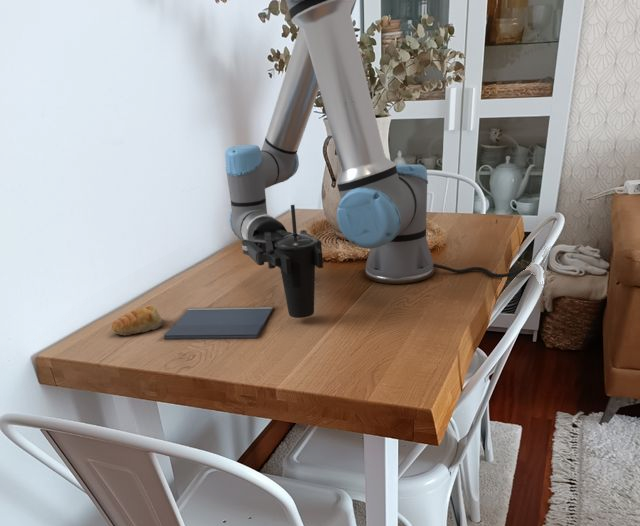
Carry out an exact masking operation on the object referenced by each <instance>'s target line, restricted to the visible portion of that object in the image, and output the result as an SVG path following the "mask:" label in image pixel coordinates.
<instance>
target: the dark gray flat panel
mask: <svg viewBox="0 0 640 526" xmlns="http://www.w3.org/2000/svg"><path fill="white" fill-rule="evenodd" d="M273 310H274V306H250V307H249V306H247V307H246V306H245V307H244V306H242V307H241V306H240V307H193V308H192V307H191V308H187V309H186V311H185V312H184V313H183V315H182V316H181V317H180V318H179V319H178V321H176V323H174V325H172V326H171V327H170V328H169V329H168V330H167V332H166V333H164V335H163V339H164V340H209V339H210V340H211V339H212V340H213V339H214V340H215V339H216V340H217V339H218V340H219V339H220V340H221V339H226V340H227V339H258V337H259V335H260V334H261V332H262V330H263V329H264V327H265V324H266V323H267V321H268V319H269V317H270V316H271V314H272V312H273Z"/></svg>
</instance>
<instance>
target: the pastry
mask: <svg viewBox="0 0 640 526" xmlns="http://www.w3.org/2000/svg"><path fill="white" fill-rule="evenodd" d="M162 324H163V320H162V318H161V316H160V314H159V313H158V311H157V309H156V307H154V305H152V304H151V305H145V307H139V308H135V309H131V310H130V311H128V312H126V314H124V315H123V316H120V317H119V318H118V319H116V320H114V321H113V322H112V324H111V332H112V333H114V334H116V335H120V336H130V335H137V334H140V333H146V332H149V331H151V330H157V329H159V328H160V327H162Z"/></svg>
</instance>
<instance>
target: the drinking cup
mask: <svg viewBox="0 0 640 526" xmlns="http://www.w3.org/2000/svg"><path fill="white" fill-rule="evenodd" d="M290 210H291V211H290V213H291V214H290V215H291V225H292V233H293V234H291V235H287V236H285V237H283V238H281V239H280V240H278V241H276V242H275V247H276V248H277V251H279V252H281V253H284V254H285V255H286V256H288V257H289V258H290V263H291V274H286V273H285V272H284V271H283V270H281V269H280V275H281V279H282V284H283V290H284V295H285V300H286V305H287V311H288V315H289V316H290V317H292V318H296V319H305V318H309V317H311V316H312V315H314V313H315V287H316V285H315V283H316V266H315V265H314V264H313V249H314V248H315V245H316V244H317V240H316V239H315V238H316V237H315V238H313V237H314V236H313V237H310V236H307V235H304V234H298V231H297V230H298V229H297V220H296V219H297V218H296V207H295V204H290Z"/></svg>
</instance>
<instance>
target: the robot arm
mask: <svg viewBox="0 0 640 526" xmlns="http://www.w3.org/2000/svg"><path fill="white" fill-rule="evenodd" d="M356 3H357V0H285V4H286V7H287V10H288V15H289V17H290V21H291V23H292V24H293V25H295V26H296V27H298V28H299V29H298V32H297V35H296V38H295V41H294V45H293V47H292V51H291V53H290V54H291V55H290V58H289V59H288V60H289V61H288V64H287V66H286V71H285V74H284V76H283V79H282V83H281V87H280V90H279V92H278V95H277V99H276V102H275V105H274V109H273V113H272V115H271V118H270V122H269V124H268V128H267V131H266V136H265V138H264V141H263V143H262V147H260V146H258V145H257V144H242V145H235V146H230V147H228V148H227V149H226V150H225V153H224V156H225V157H224V159H225V173H226V177H227V186H228V191H229V198H230V208H231V209H230V213H229V217H228V225H229V227H230V229H231V231H232V232H233V234H234V235H235V236H236V237H237V238H238V239H239V240H240V241H241V248H242V255H245V256H249V257H250V259H251V260H253V262H254V263H255V264H256V265H257V266H264V265H265V263H267V266H268V269H271V270H272V269H275V268H276V267H277V268H279V270H280V271H281V270H283V271H284V272H285V273H286V274H291V263H290V258H289V257H288V256H286V255H285V254H284V253H281V252H279V251H277V248H276V247H275V242H276V241H278V240H280V239H281V238H283V237H285V236H287V235H291V234H293V232H292V231H288V230H287V228H286V227H285V225H284V224H283V223H282V222H281V221H279V220H278V219H276V218H275V217H273V216H272V215H271V214H268V209H267V208H268V207H267V198H266V189H268V188H270V187H272V186H275V185H278V184H281V183H284V182H286V181H288V180H290V179H291V178H292V177H293V176H294V175H296V173H297V172H298V170H299V166H300V162H299V155H298V150H299V147H300V146H301V145H300V144H301V142H302V139H303V136H304V133H305V131H306V128H307V125H308V122H309V120H310V117H311V114H312V111H313V108H314V105H315V102H316V100H317V96H318V94H319V93H320V97H321V101H322V104H323V107H324V108H323V109H324V111H325V115H326V119H327V122H328V126H329V130H330V134H331V137H332V141H333V144H334V145H333V146H334V148H335V152H336V155H337V160H338V164H339V166H340V171H341V172H340V174H339V177H338V179H337V180H336V186H337V189H338V193H339V197H340V200H339V205H338V207H337V211H336V220H337V224H338V228H339V231H340V232H341V234H342V235H343V236H344V237H345V238H346V240H348V241H349V242H350V243H352V244H353V245H354V246H356V247H359V248H362V249H367V250H368V249H369V253H368V256H367V260H366V262H365V277H366V278H367V279H369V280H371V281H373V282H376V283H381V284H387V285H388V284H390V285H392V284H393V285H403V284H412V283H418V282H421V281H424V280H427V279H429V278H430V277H432V276H433V275H434V272H435V270H434V269H441V270H445V271H448V272H451V273H456V274H462V273H463V274H464V273H467V272H472V271H481V272H484V273H486V274H487V275H489V276H491V277H492V278H507V277H508V278H509V277H512V276H515V275H517V274H519V273H522V272H524V271H523V270H525V269H526V268H527V267H528V266H525V267H521V268H518V269H515V270H513V271H510V272H505V273H495V272H493V271H491V270H489V269H487V268H485V267H482V266H470V267H467V268H461V269H458V268H457V269H455V268H452V267H449V266H446V265H443V264H437V263H434V259H433V255H432V253H431V249H430V246H429V242H428V240H427V217H428V216H427V215H428V214H427V213H428V211H427V210H428V209H427V208H428V184H429V179H428V170H427V168H426V166H425V165H422V164H411V163H410V164H407V163H405V164H396V162H394V161H393V160H391V159H389V158H388V157H387V156H386V154H385V150H384V145H383V142H382V138H381V134H380V130H379V125H378V121H377V117H376V113H375V110H374V105H373V101H372V96H371V92H370V89H369V83H368V80H367V76H366V72H365V67H364V63H363V60H362V56H361V52H360V48H359V43H358V40H357V34H356V31H355V25H354V22H353V18H352V15H353V11H354V9H355V6H356ZM297 234H304V235H307V236H310V237H313V238H315V239H316V240H317V244H316V245H315V248H314V249H313V264H314V265H315V267H316V268H318V269H323V268H324V260H323V259H324V258H323V248H322V246H323V245H322V240H321V239H319V238H317V237H315V236H313V235H311V234H310V233H308V232H307V230H306V229H302V230H300V232H299V231H298V232H297Z"/></svg>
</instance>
